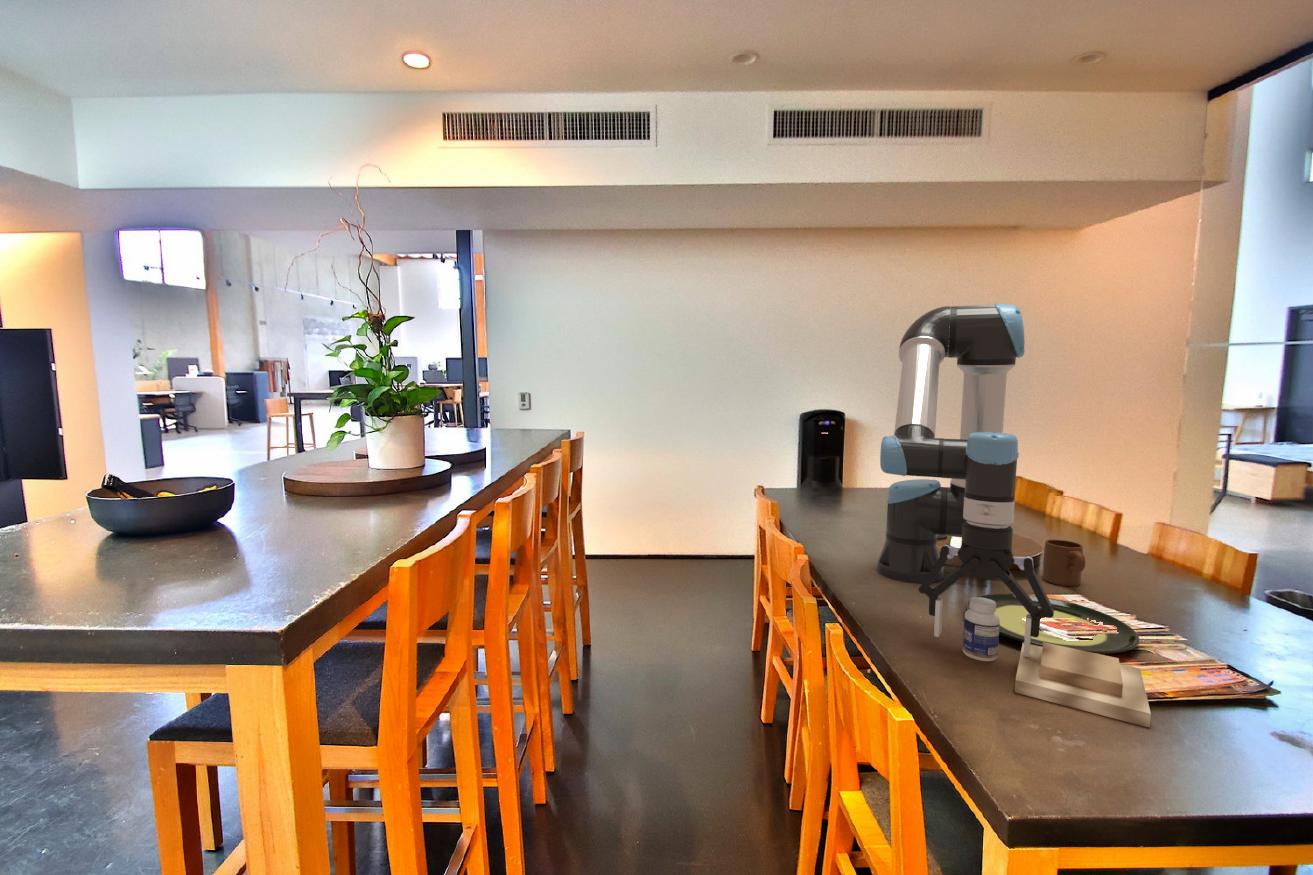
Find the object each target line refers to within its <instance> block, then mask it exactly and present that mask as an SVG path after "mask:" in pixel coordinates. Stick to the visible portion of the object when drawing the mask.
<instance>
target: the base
mask: <svg viewBox="0 0 1313 875" xmlns="http://www.w3.org/2000/svg"><path fill="white" fill-rule="evenodd" d="M1023 655H1024V643H1023V642H1022V646H1021V650H1020V655H1019V659H1018V660H1019V661H1018V665H1017V671H1016V675H1015V680H1014V681H1015V682H1014V693H1016V694H1019V695H1024V696H1027V697H1031V698H1035V699H1039V700H1043V701H1046V702H1051V703H1054V704H1059V705H1062V706H1065V707H1069V708H1074V709H1077V710H1081V711H1085V712H1089V713H1092V714H1096V715H1100V716H1104V717H1108V718H1111V719H1115V720H1120V721H1123V722H1127V723H1130V724H1134V725H1138V726H1142V727H1146V728H1149V729H1150V727H1151V717H1152V713H1151V709H1150V705H1149V699H1148V695H1147V691H1146V688H1145V684H1144V678H1143V675H1142V671H1141V670H1142V669H1141V668H1140V667H1135V666H1130V665H1128V664H1123V663H1120V658H1119V657H1114V656H1109V655H1105V654H1096V653H1091V652H1087V651H1082V650H1077V649H1073V648H1068V647H1064V646H1059V645H1054V644H1050V643H1045V642H1043V647H1040V646H1036V645H1031V644H1030V653H1029V657H1025V656H1023Z"/></svg>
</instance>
